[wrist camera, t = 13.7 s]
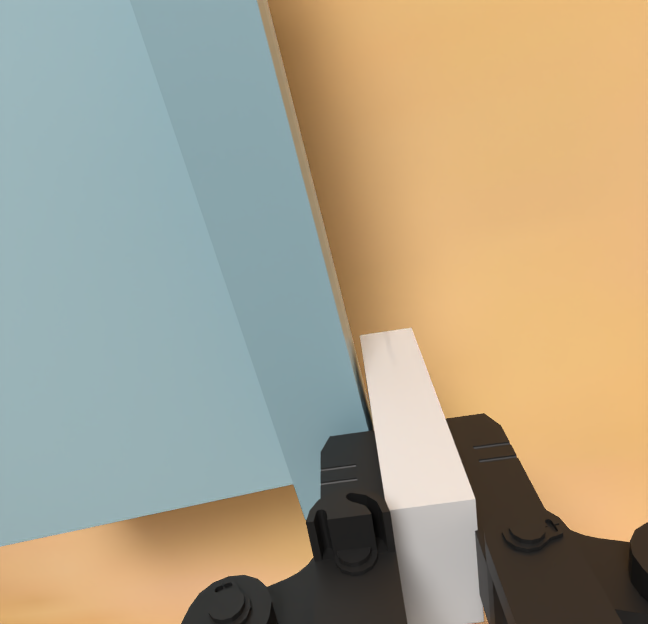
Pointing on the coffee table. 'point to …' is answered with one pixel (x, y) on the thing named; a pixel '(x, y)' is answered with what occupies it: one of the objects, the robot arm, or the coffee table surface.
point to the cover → (159, 267)
